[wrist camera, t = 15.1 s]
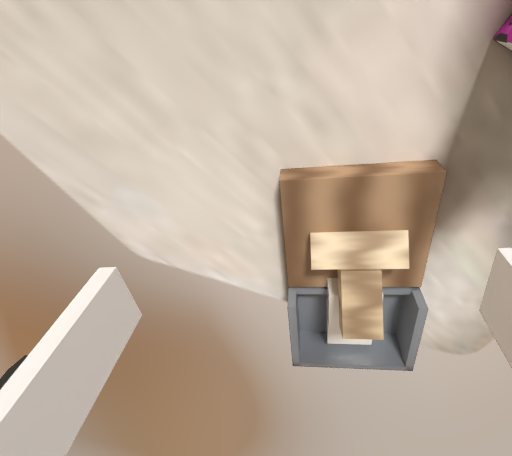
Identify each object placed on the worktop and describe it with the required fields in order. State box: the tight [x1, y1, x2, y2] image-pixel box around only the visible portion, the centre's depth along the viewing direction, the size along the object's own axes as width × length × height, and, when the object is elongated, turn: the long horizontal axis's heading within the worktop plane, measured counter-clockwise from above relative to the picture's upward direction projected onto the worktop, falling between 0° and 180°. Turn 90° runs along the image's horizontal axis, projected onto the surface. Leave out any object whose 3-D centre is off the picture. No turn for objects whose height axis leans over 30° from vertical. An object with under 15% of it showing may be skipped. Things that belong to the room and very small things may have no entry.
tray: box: [288, 287, 428, 371], centre depth 43 cm, size 16×12×6 cm
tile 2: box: [327, 278, 383, 330], centre depth 39 cm, size 6×6×3 cm
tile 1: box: [326, 298, 372, 345], centre depth 45 cm, size 6×6×3 cm
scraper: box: [310, 230, 409, 340], centre depth 35 cm, size 10×4×11 cm
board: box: [280, 160, 447, 287], centre depth 37 cm, size 16×15×3 cm
